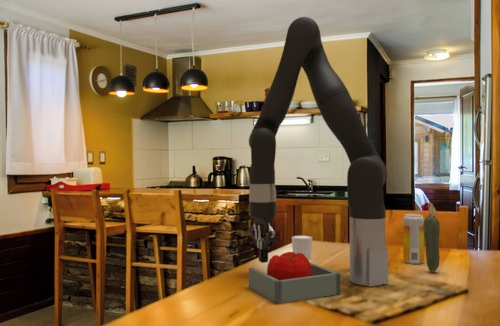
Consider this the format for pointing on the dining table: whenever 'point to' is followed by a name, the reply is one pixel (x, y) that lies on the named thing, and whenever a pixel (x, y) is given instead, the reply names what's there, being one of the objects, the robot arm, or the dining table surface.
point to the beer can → (413, 238)
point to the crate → (295, 285)
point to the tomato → (289, 266)
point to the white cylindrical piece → (302, 245)
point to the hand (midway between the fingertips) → (263, 261)
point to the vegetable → (432, 239)
